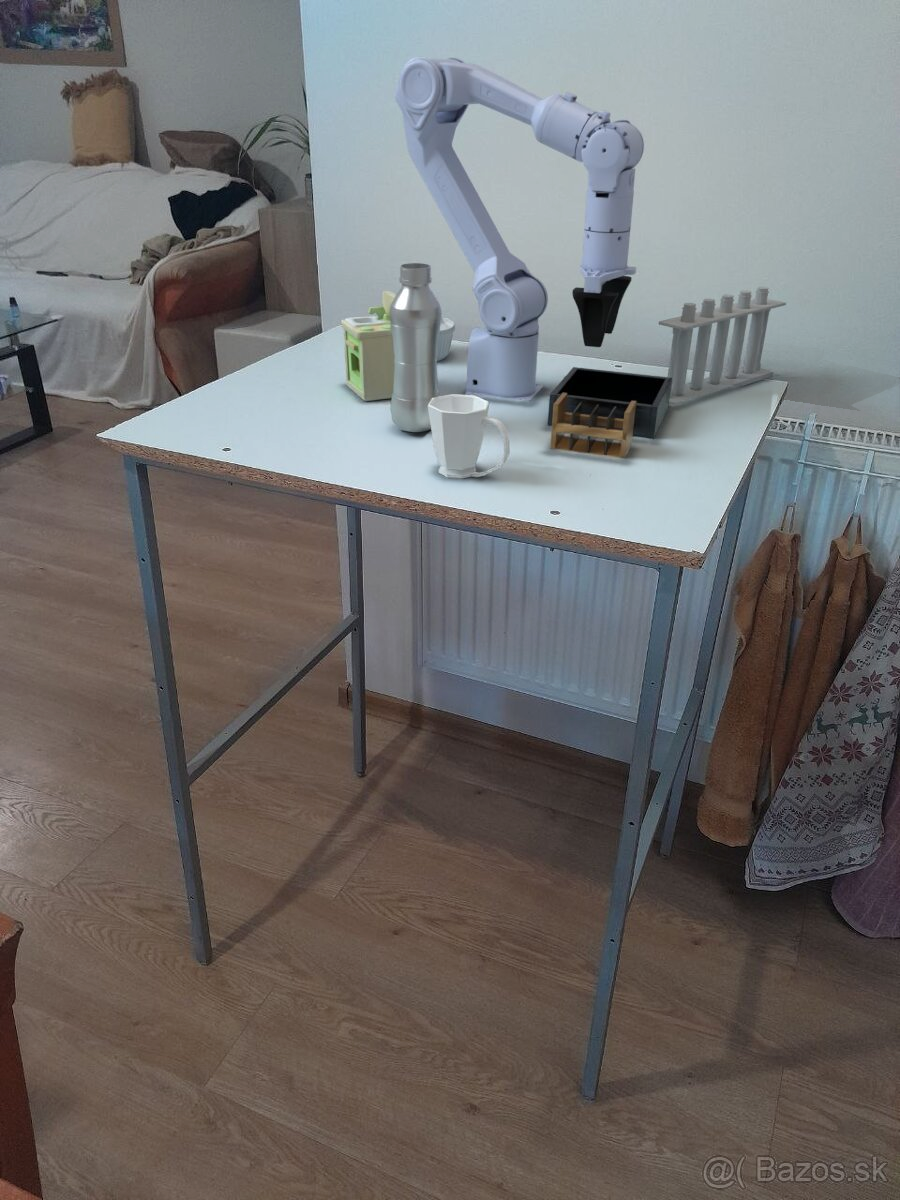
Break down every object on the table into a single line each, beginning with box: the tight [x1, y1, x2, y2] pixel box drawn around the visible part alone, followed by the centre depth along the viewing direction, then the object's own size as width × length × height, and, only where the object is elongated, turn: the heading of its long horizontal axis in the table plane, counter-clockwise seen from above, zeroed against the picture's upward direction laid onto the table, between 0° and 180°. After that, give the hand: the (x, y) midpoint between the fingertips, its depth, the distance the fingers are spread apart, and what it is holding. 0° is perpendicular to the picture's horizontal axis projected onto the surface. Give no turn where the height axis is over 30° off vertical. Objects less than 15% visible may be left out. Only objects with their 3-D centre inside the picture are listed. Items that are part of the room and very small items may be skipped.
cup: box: [428, 393, 511, 480], centre depth 105 cm, size 7×10×8 cm
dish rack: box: [549, 393, 636, 459], centre depth 113 cm, size 9×5×6 cm, turn 71°
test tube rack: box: [658, 286, 787, 406], centre depth 135 cm, size 25×4×13 cm, turn 132°
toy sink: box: [340, 290, 397, 402], centre depth 131 cm, size 8×7×13 cm
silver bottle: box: [389, 262, 443, 433], centre depth 115 cm, size 6×7×20 cm
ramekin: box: [437, 316, 456, 362], centre depth 149 cm, size 11×11×5 cm
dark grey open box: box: [547, 366, 673, 440], centre depth 124 cm, size 14×14×5 cm
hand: (598, 339), depth 124 cm, fingers open, 7 cm apart
